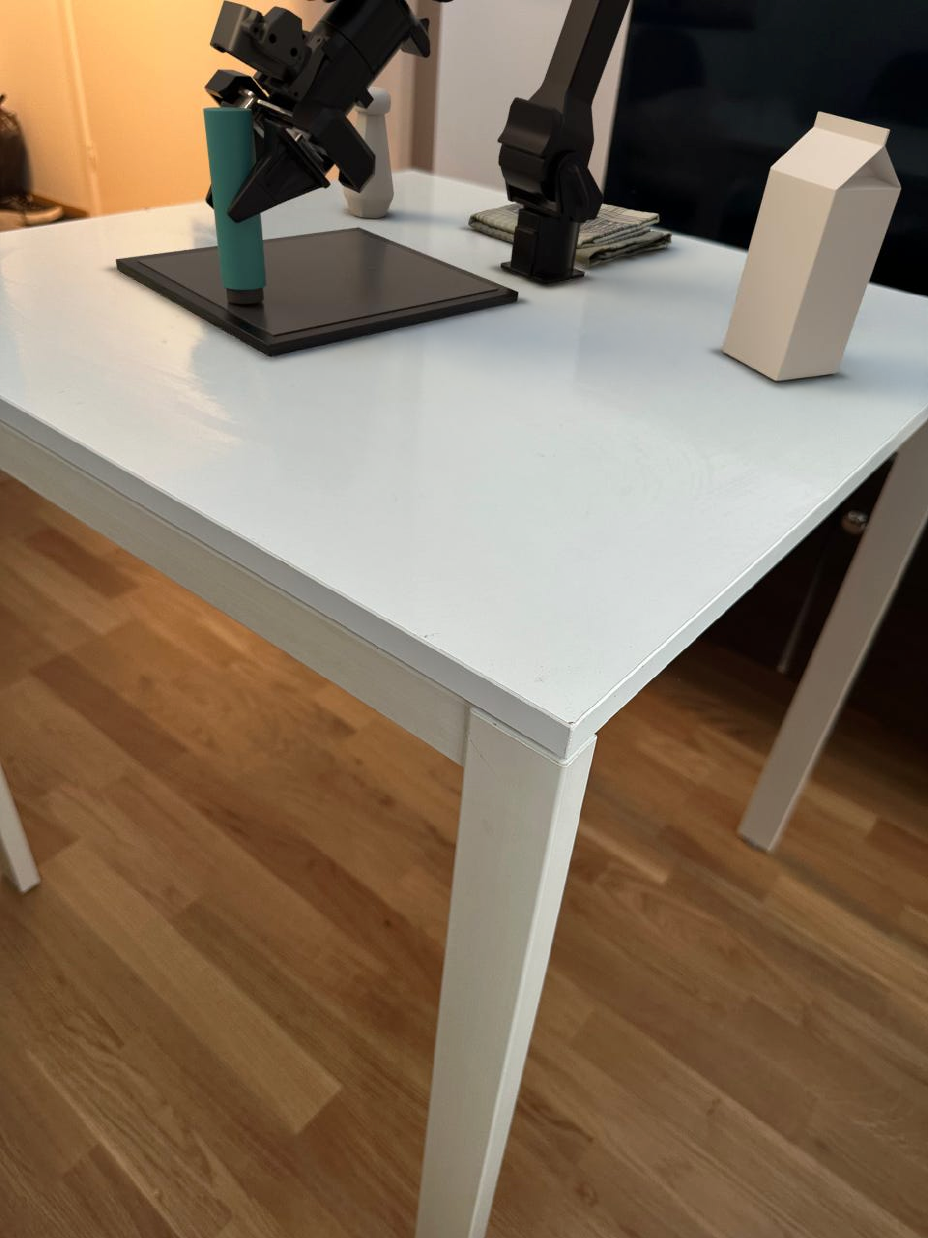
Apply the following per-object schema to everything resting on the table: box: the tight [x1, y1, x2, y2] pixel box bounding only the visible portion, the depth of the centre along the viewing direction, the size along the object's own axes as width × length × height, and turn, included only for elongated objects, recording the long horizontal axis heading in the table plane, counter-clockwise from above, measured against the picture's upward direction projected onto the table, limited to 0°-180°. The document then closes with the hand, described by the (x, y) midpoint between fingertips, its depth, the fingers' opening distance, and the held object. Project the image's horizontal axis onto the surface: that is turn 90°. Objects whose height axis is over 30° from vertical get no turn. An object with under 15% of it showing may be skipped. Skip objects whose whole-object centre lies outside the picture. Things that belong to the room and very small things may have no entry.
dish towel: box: [467, 202, 673, 268], centre depth 107 cm, size 19×18×3 cm
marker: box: [202, 106, 266, 304], centre depth 73 cm, size 4×4×14 cm
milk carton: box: [721, 111, 902, 382], centre depth 75 cm, size 7×7×19 cm
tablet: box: [115, 226, 520, 357], centre depth 85 cm, size 28×24×1 cm
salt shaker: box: [342, 85, 395, 219], centre depth 105 cm, size 6×6×13 cm
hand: (220, 211), depth 73 cm, fingers closed on marker, 4 cm apart
